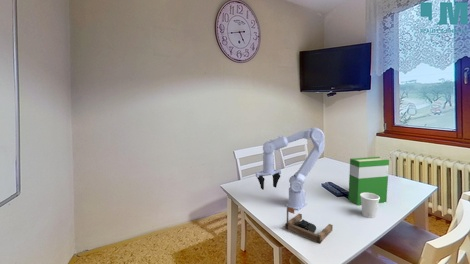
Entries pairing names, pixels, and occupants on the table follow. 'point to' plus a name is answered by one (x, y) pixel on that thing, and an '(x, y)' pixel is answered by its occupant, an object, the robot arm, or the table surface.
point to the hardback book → (368, 178)
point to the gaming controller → (306, 225)
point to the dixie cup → (369, 204)
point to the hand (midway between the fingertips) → (268, 187)
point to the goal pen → (303, 232)
